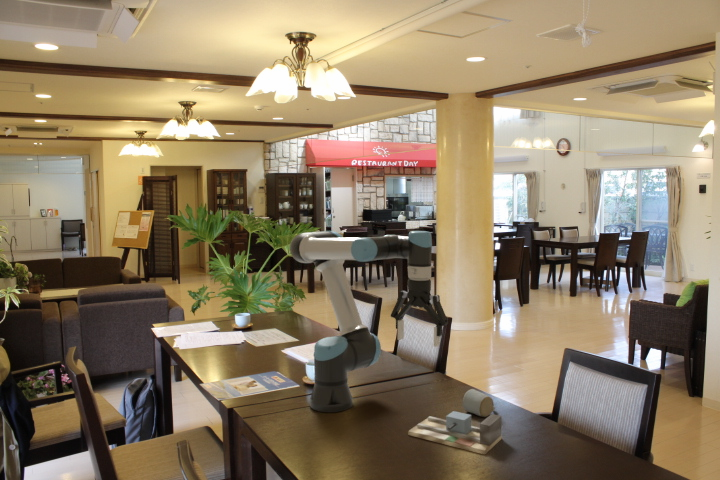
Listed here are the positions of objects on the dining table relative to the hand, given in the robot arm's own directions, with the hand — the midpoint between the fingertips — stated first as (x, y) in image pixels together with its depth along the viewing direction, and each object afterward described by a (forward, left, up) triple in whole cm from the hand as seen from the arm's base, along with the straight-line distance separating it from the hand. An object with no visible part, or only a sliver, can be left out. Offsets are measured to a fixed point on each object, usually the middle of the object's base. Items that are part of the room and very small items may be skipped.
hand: (418, 342), depth 190 cm
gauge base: (+17, -8, -25) cm, 31 cm away
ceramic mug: (+16, +15, -26) cm, 33 cm away
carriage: (+18, -9, -24) cm, 31 cm away
